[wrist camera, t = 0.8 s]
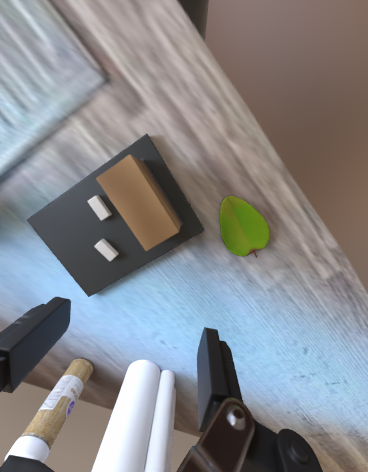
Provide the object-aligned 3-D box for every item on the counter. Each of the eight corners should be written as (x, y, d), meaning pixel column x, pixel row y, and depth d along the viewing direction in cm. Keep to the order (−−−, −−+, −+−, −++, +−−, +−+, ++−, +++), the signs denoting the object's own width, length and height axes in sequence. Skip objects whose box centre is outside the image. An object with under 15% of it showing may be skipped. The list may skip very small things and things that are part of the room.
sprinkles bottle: (96, 374, 36) (43, 479, 23) (75, 376, 37) (10, 480, 24) (90, 355, 35) (30, 454, 22) (67, 358, 35) (-5, 456, 22)
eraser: (144, 159, 25) (130, 151, 19) (183, 222, 27) (181, 232, 21) (115, 180, 26) (92, 177, 20) (155, 239, 27) (145, 253, 22)
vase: (121, 375, 36) (38, 592, 17) (141, 352, 34) (76, 563, 15) (167, 403, 37) (141, 634, 18) (189, 382, 36) (186, 612, 16)
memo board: (148, 135, 25) (146, 133, 24) (204, 228, 28) (204, 230, 27) (32, 218, 29) (25, 220, 28) (92, 293, 32) (88, 297, 30)
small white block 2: (103, 238, 28) (100, 240, 27) (119, 253, 28) (116, 255, 27) (97, 244, 28) (93, 246, 27) (112, 259, 29) (109, 261, 28)
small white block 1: (98, 195, 26) (95, 195, 25) (112, 214, 27) (109, 215, 26) (90, 200, 26) (86, 201, 25) (104, 219, 27) (101, 220, 26)
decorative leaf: (213, 251, 29) (213, 254, 28) (222, 194, 26) (222, 195, 26) (263, 258, 29) (265, 260, 28) (277, 200, 26) (280, 201, 25)
